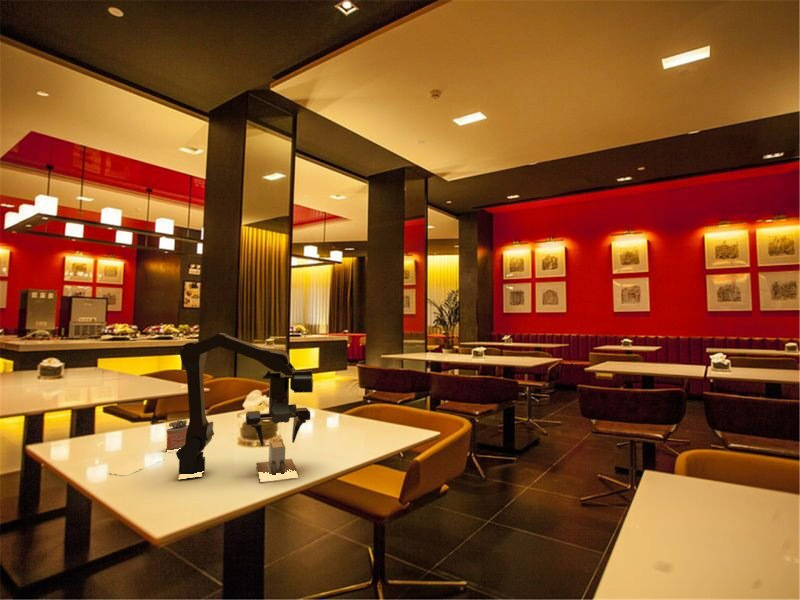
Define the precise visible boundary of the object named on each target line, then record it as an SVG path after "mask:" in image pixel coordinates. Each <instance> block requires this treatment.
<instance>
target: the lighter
mask: <svg viewBox="0 0 800 600" xmlns="http://www.w3.org/2000/svg"><path fill="white" fill-rule="evenodd" d="M187 422H188V421H187V420H186V419H182V420H181V419H178V420H176V421H172V422H169V423H168V426H169V427H170V428H168V429H166V448H165V451H166V450H174V449H179V448H182V447H183V446H184V445H185V439H186V432H187V428H188V425H189V424H188V423H187ZM171 427H172V428H171Z"/></svg>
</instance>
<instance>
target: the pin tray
mask: <svg viewBox="0 0 800 600" xmlns="http://www.w3.org/2000/svg"><path fill="white" fill-rule="evenodd" d="M256 465H257V469H258V472H263V473H265V472H267V473H268V472H269V474H272V475H276V473H281V474H284V473H285V472H287V470H288V471H289V469H290V470H292V471H294V470H295V471H296V470H297V466H296V465H295V463H294V461H293V459H292V458H287V459H286V458H285V463H281V472H277V464H272V473H271V471H270V468H269V460H268V461H262V462H256V463H255V466H256ZM257 469H256V470H257ZM297 471H298V470H297ZM290 472H291V471H290Z"/></svg>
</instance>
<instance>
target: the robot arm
mask: <svg viewBox="0 0 800 600" xmlns="http://www.w3.org/2000/svg"><path fill="white" fill-rule="evenodd" d="M219 348H223V349H225V350H228V351H230V352H232V353H233V352H234V353H236V354H238V355H241V356H244V357H247V358H250V359H252V360H255V361H257V362H259V363H260V364H262V365H263V366H264V367H266V368H267V369H269V370H268V371H267V372H266V373H265V374H264V375H263V376H262V379H263V380H269V381H268V383H269V386H268V387H269V389H268V390H269V392H268V393H269V394H268V412H267V413H261V411H260V410H253V411H246V413H245V425H246V426H250V427H251V428H254V429H255V431H256V434H257V436H258V440H259V442H260V445H261V447H264V438H263V428H262V423H261V422H262V421H269V420H272V423H273V424H279V423H284V424H285V423H289V422H290V419H293V425H292V435H291V440H292V441H291V442H292V443H293V444H294V443H295V441H296V439H297V435H298V434H299V433H298V432H299V430H300V428H301V426H302V425H303V424H305V423H307V421H310V420H311V411H310V410H309V409H308V408H307V407H297V404H296V403H293V404H289V403H290V402H289V388H290V390H291V391H293V393H296V394H297V393H300V394H301V393H306V394H307V393H313V391H314V379H313V378H314V377H313V376H314V375H313V370H311V369H307V370H296V368H295V367H294V365H293V364H292V363H291V359H290V358H291V357H290V355H289V354H288V353H287V352H286V351H283V350H282V351H281V350H276V349H271V348H264V347H261V346H258V345H255V344H252V343H250V342H247V341H244V340H242V339H239V338H237V337H233V336H231V335H229V334H227V333H225V332H221V333H220V332H219V333H216V334H215V335H213V336H210V337H208V338H206V339H203V340H201V341H198V340H196V341H192V342H191V341H190V342H186V343H185V344H183V345H182V346H181V347H180V348H179V356H180V361H181V363H182V367H183V368H184V370H185V373H186V382H187V399H188V400H187V401H188V417H189V418H188V419H189V420H188V424H187V425H188V428H187V432H186V439H185V445H184V446H183V447H182V448H181V449H179V450H178V451H175V455H176V457H177V460H178V475H179V474H194V473H197V472H202V471H206V467H205V466H206V457H205V456H204V450H205V448H206V447H207V446H208V445H209V443H211V441H212V439H213V437H214V436H215V432H214V421H210V422H209V420H208V419H207V415H206V399H205V382H204V369H205V366H206V365H205V364H206V361H207V355H208V353H209V352H212V351H213V350H216V349H219ZM289 379H290V381H289ZM289 382H290V383H289Z"/></svg>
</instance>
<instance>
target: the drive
mask: <svg viewBox="0 0 800 600" xmlns="http://www.w3.org/2000/svg"><path fill="white" fill-rule="evenodd" d="M268 443H269V444H268V445H269V446H268V461H269V468H270V471H271V473H272V464H277V472H281V463H285V459H286V446H285V444H284V441H283V440H282V441H281V440H280V441H278V440H277V441H270V442H268Z"/></svg>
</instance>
